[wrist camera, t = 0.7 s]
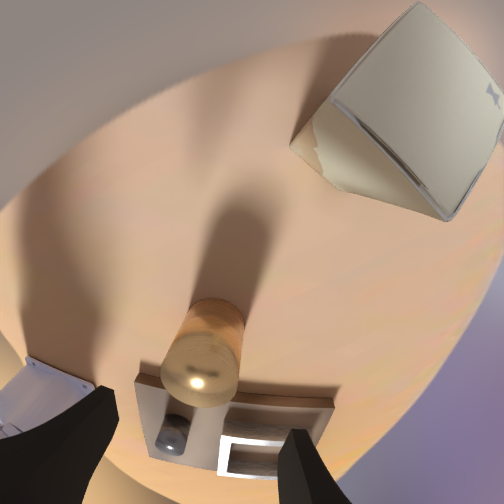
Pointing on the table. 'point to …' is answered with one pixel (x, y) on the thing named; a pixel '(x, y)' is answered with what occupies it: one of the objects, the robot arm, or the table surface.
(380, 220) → the table surface
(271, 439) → the fitting board
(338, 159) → the box
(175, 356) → the cylinder
